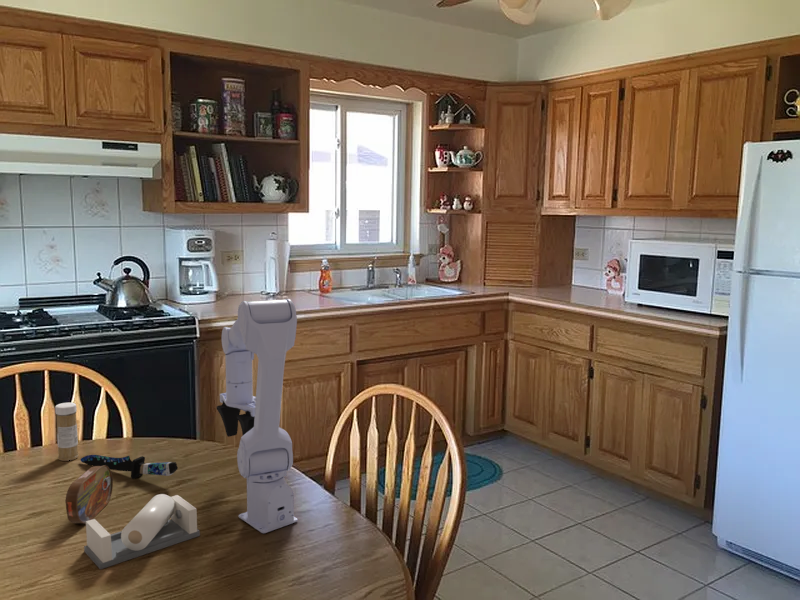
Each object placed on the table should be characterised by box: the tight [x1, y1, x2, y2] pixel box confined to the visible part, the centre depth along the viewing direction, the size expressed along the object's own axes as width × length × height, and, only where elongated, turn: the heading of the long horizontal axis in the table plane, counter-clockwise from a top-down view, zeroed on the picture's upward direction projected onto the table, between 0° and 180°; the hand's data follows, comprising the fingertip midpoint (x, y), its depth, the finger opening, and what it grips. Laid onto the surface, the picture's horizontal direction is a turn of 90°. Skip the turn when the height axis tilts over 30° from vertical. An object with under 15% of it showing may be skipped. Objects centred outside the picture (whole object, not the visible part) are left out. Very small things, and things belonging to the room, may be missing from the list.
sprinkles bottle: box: [54, 401, 80, 462], centre depth 163 cm, size 5×5×13 cm
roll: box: [121, 493, 176, 551], centre depth 122 cm, size 5×12×5 cm, turn 178°
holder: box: [83, 494, 201, 570], centre depth 123 cm, size 8×18×6 cm, turn 133°
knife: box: [80, 454, 178, 480], centre depth 154 cm, size 31×3×4 cm, turn 61°
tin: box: [65, 465, 114, 525], centre depth 134 cm, size 15×3×8 cm, turn 179°
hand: (240, 439), depth 151 cm, fingers open, 7 cm apart
